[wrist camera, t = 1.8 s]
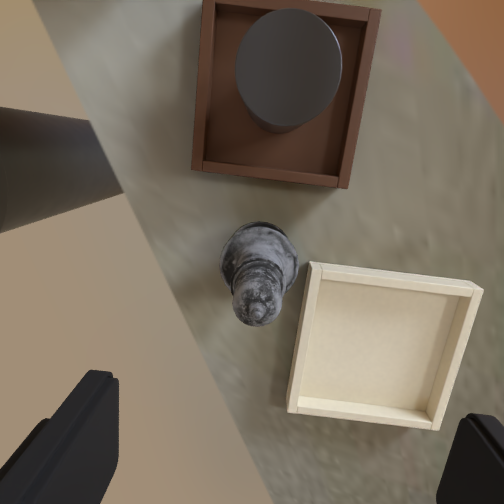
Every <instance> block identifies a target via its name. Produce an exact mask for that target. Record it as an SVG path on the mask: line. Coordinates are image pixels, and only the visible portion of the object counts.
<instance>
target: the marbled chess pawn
mask: <svg viewBox="0 0 504 504" xmlns="http://www.w3.org/2000/svg"><path fill="white" fill-rule="evenodd" d="M219 267H220V273H221V277H222V279H223V281H224V283H225V285H226V286H227V287H228V288H229V290H230V291H231V293H232V295H233V302H232V304H233V309H234V312H235V314H236V316H237V317H238V318H239V320H240V321H242V322H243V323H245V324H247V325H250V326H255V327H259V326H264V325H267V324H269V323H271V322H272V321H274V320H275V318H276V317H277V316H278V315H279V312H280V310H281V308H282V297H283V295H284V294H285V293H286V292H287V291H288V290H289V289H290V288H291V286H292V285H293V284H294V282H295V279H296V277H297V274H298V267H299V263H298V255H297V253H296V251H295V248H294V246H293V245H292V243H291V242H290V241H289V240H288V238H287V236H286V235H285V234H284V232H283V231H282V230H281V229H279V228H278V227H277V226H275V225H273V224H270V223H268V222H259V221H258V222H252V223H249V224H246V225H244V226H242V227H241V228H240V229H238V230H237V231H236V232H235V234H234V235H233V236H232V238H230V239H229V241H228V242H227V243H226V245H225V246H224V248H223V251H222V253H221V256H220V265H219Z"/></svg>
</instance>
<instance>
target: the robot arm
mask: <svg viewBox="0 0 504 504" xmlns="http://www.w3.org/2000/svg"><path fill="white" fill-rule="evenodd" d="M118 453H119V381H118V379H117V378H113V375H112V373H111V372H107V371H98V370H89V371H88V372H87V373H86V374H85V376H84V377H83V378H82V379H81V381H80V382H79V383H78V384H77V386H76V387H75V388H74V389H73V391H72V392H71V393H70V394H69V396H68V397H67V398H66V399H65V401H64V402H63V403H62V405H61V406H60V407H59V408H58V410H57V411H56V412H55V414H54V415H53V416H52V417H51V418H50V419H47V418H45V419H43V420H41V422H40V423H38V424H37V425H36V427H35V428H34V429H33V430H32V431H31V433H30V434H29V435H28V437H27V438H26V439H25V440H24V441H23V442H22V444H21V445H20V446H19V448H18V449H17V450H16V451H15V452H14V453H13V454H12V456H11V457H10V458H9V460H8V461H7V462H6V463H5V464H4V465H3V467H2V468H1V469H0V504H100V503H101V501H102V498H103V496H104V494H105V492H106V490H107V487H108V485H109V483H110V481H111V479H112V477H113V475H114V472H115V470H116V467H117V462H118V456H119V454H118ZM436 502H437V504H504V427H503V425H502V424H501V423H500V422H499V421H498V420H497V419H496V418H495V417H494V416H491V415H482V414H474V413H470V414H468V415H467V416H466V418H462V419H461V420H460V422H459V425H458V428H457V431H456V434H455V438H454V441H453V444H452V447H451V450H450V453H449V456H448V459H447V462H446V465H445V469H444V472H443V475H442V478H441V481H440V484H439V487H438V490H437V494H436Z"/></svg>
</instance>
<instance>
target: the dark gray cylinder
mask: <svg viewBox="0 0 504 504" xmlns="http://www.w3.org/2000/svg"><path fill="white" fill-rule="evenodd" d="M341 76H342V55H341V50H340V46H339V43H338V41H337V38H336V37H335V35H334V33H333V31H332V30H331V29H330V27H329V26H328V25H327V24H326V23H325V22H324V21H323V20H322V19H321V18H319V17H318V16H316V15H315V14H313V13H311V12H308V11H306V10H302V9H297V8H284V9H279V10H275V11H272V12H270V13H267V14H266V15H264V16H262V17H261V18H260V19H258V20H257V21H256V22H255V23H254V24H253V25H252V26H251V27H250V28H249V29H248V31H247V32H246V33H245V35H244V37H243V38H242V40H241V42H240V45H239V47H238V50H237V54H236V59H235V79H236V84H237V88H238V91H239V93H240V96H241V98H242V100H243V102H244V104H245V106H246V109H247V111H248V113H249V115H250V117H251V118H252V120H253V121H254V122H255V124H257V125H258V126H259V127H260V128H262V129H263V130H265V131H268V132H270V133H277V134H281V133H287V132H290V131H293V130H295V129H297V128H298V127H300V126H302V125H303V124H305V123H307V122H309V121H310V120H312V119H314V118H315V117H317V116H318V115H319V114H320V113H322V112H323V111H324V110H325V109H326V108H327V106H328V105H329V104H330V103H331V101H332V100H333V98H334V96H335V94H336V92H337V90H338V87H339V84H340V80H341Z"/></svg>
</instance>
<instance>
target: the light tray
mask: <svg viewBox="0 0 504 504" xmlns="http://www.w3.org/2000/svg"><path fill="white" fill-rule="evenodd" d="M483 291H484V290H483V289H482V288H480V287H479V286H477V285H476V284H474V283H473V282H471V281H467V280H459V279H451V278H443V277H435V276H426V275H418V274H410V273H402V272H394V271H385V270H377V269H369V268H361V267H353V266H345V265H336V264H328V263H320V262H312V261H309V265H308V271H307V277H306V283H305V289H304V295H303V300H302V306H301V312H300V318H299V324H298V330H297V336H296V342H295V347H294V353H293V359H292V365H291V371H290V377H289V383H288V389H287V395H286V404H287V412H288V413H298V414H306V415H314V416H322V417H331V418H339V419H347V420H355V421H364V422H372V423H380V424H388V425H397V426H405V427H413V428H421V429H430V430H437V431H439V429H440V425H441V422H442V419H443V416H444V413H445V410H446V407H447V403H448V400H449V397H450V394H451V391H452V388H453V385H454V382H455V378H456V375H457V372H458V369H459V366H460V363H461V360H462V357H463V353H464V350H465V347H466V344H467V341H468V338H469V335H470V331H471V328H472V325H473V322H474V319H475V316H476V313H477V310H478V306H479V303H480V300H481V297H482V294H483Z"/></svg>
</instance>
